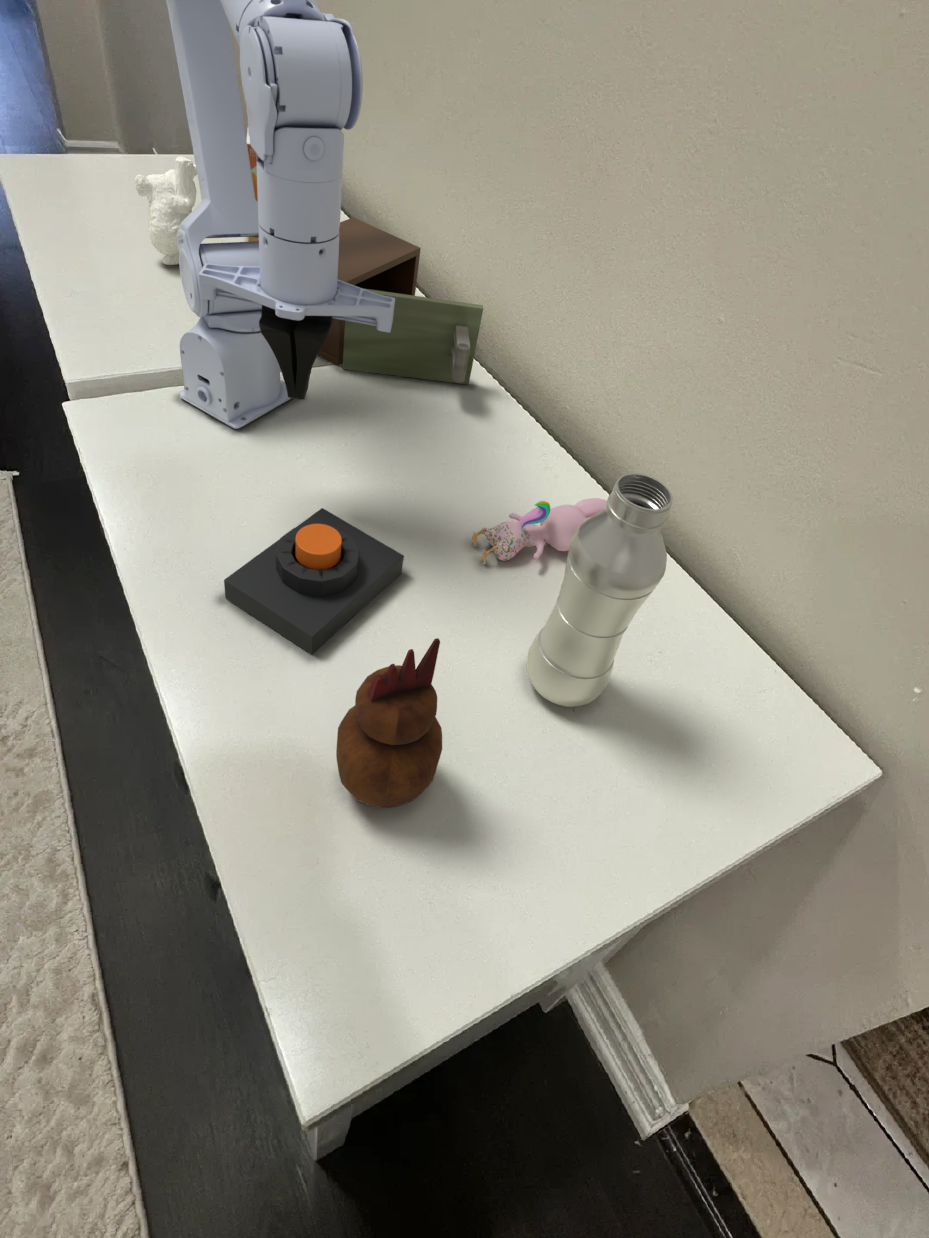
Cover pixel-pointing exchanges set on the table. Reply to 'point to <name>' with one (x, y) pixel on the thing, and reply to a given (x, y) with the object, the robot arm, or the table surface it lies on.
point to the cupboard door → (417, 340)
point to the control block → (313, 584)
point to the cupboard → (370, 271)
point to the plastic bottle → (601, 591)
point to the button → (318, 546)
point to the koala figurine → (168, 205)
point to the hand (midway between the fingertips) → (298, 392)
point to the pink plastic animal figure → (539, 528)
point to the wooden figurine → (392, 734)
